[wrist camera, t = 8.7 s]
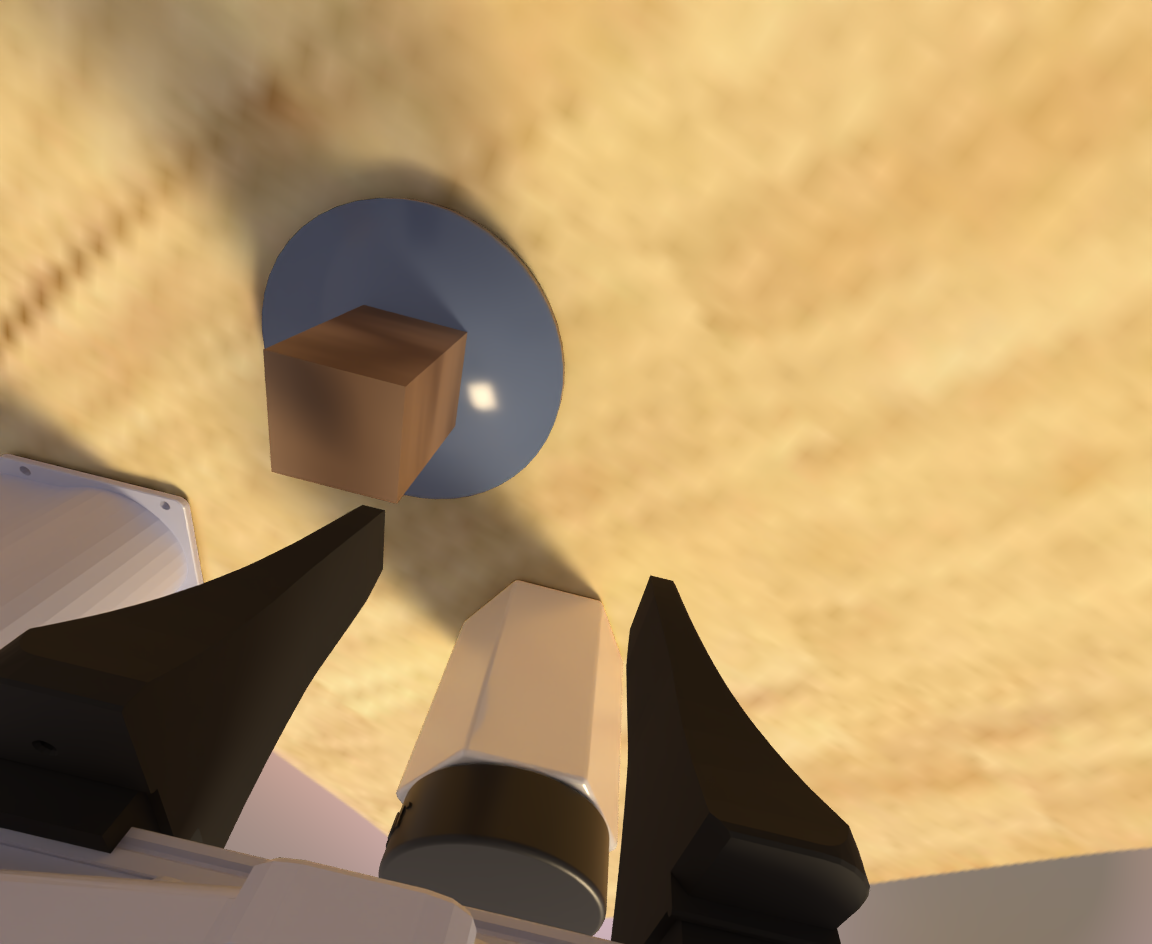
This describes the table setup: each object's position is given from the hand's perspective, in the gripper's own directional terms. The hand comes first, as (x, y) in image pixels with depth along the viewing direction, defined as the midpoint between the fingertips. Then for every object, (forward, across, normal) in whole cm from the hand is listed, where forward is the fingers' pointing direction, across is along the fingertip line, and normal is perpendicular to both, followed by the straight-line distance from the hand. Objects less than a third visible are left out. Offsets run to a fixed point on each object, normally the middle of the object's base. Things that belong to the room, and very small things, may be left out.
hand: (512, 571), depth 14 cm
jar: (+10, -2, +13) cm, 16 cm away
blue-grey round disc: (+10, +6, -1) cm, 11 cm away
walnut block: (+8, +6, -1) cm, 11 cm away
